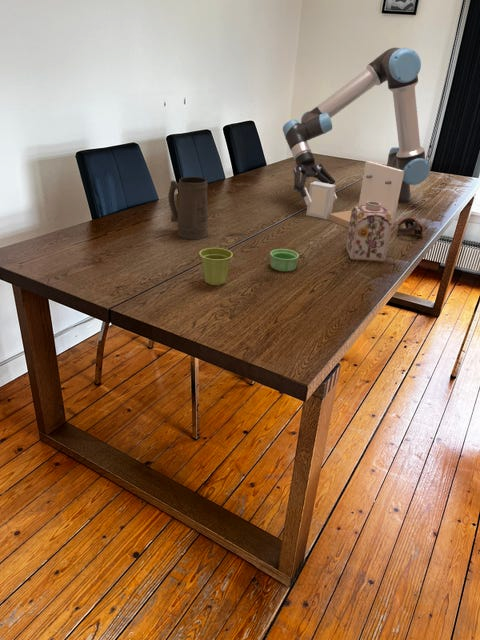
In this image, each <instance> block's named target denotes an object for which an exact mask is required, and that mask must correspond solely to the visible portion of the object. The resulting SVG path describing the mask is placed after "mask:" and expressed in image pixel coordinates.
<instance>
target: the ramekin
mask: <svg viewBox="0 0 480 640" xmlns="http://www.w3.org/2000/svg"><path fill="white" fill-rule="evenodd" d="M269 254H270V255H269V256H270V267H271V268H272V269H274V270H276V271H279V272H291V271H292V272H293V271H295V269H296V267H297V263H298V260H299V256H300V255H299V253H298V252H296V251H295V250H292V249H287V248H276V249H272V250H271V251H270V252H269Z"/></svg>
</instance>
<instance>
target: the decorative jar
mask: <svg viewBox="0 0 480 640" xmlns="http://www.w3.org/2000/svg"><path fill="white" fill-rule="evenodd" d="M351 210H352V212H351V218H350V223H349V228H347V229H348V230H347V237H346V244H345V248H346V249H345V250H346V251H347V253H348V255H349V258H350V260H352V261H353V260H354V261H369V262H385V261H386V259H387V254H388V248H389V244H390V243H389V242H390V237H391V231H392V228H393V227H392V218H391V212H390V211H389V209H387V208H384V207H382V206H381V203H379V202H375V201H368V202H367V203H366V205H359V204H358V205H356V206H354V208H353V209H351Z"/></svg>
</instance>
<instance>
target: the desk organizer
mask: <svg viewBox="0 0 480 640" xmlns="http://www.w3.org/2000/svg"><path fill="white" fill-rule="evenodd" d="M403 175H404V171H403V170H399V169H396V168H392V167H389V166H387V165H385V164H381V163H379V162H377V163H376V162H375V161H370V160H369V161H365V166H364V171H363V177H362V183H361V189H360V195H359V201H358V205H366V203H367V202H368V201H375V202H379V203H381V206H382V207H384V208H387V209H389V211H390V212H391V218H392V228H393V227H394V223H395V219H396V218H395V217H396V214H397V210H398V204H399V202H398V200H399V195H400V190H401V185H402V180H403ZM352 210H353V209H351V210H345V211H344V210H343V211H338V212H332V213H331V214H329V218H328V221H331V222H333V223H335V224H337V225H339V226H342V227H344V228H347V229H349V223H350V218H351V212H352Z"/></svg>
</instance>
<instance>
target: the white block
mask: <svg viewBox="0 0 480 640" xmlns="http://www.w3.org/2000/svg"><path fill="white" fill-rule="evenodd" d="M308 193H309V196H310V198H311V201H312V202H311V203H310V204H309V205H307V204H306V206H307V207H306V214H305V215H306V216H310V217H313V218H314V217H315V218H318V219H322V220H323V219H324V220H329V214H331V213H333V207H334V202H335V201H334V194H336V184H329V183H328V184H327V183H322V182H321V181H315V180H314V181H313V182H310V183H309V189H308ZM333 201H334V202H333Z"/></svg>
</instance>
